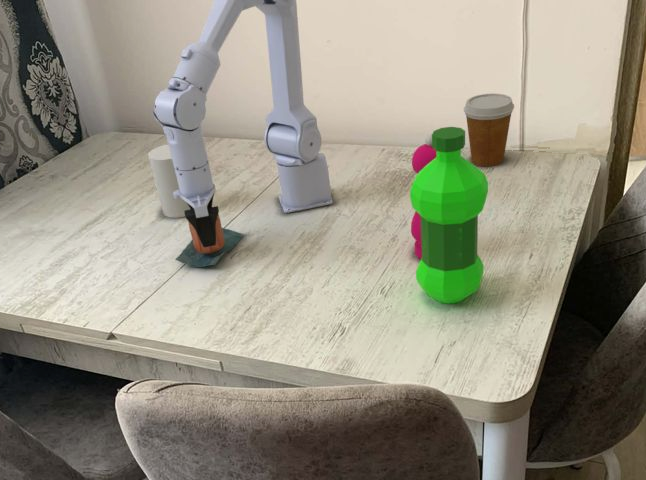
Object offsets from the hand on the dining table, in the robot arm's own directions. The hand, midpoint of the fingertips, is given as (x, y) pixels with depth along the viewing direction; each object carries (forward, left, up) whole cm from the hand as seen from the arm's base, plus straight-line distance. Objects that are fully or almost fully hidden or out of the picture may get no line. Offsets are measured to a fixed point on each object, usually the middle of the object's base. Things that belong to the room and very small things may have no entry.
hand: (208, 237), depth 128 cm
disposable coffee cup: (-58, -16, -4) cm, 60 cm away
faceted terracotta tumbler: (0, 0, -2) cm, 2 cm away
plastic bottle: (-34, +28, -4) cm, 44 cm away
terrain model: (0, -1, -4) cm, 4 cm away
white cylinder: (+4, -22, -4) cm, 23 cm away
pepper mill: (-36, +15, -4) cm, 39 cm away
